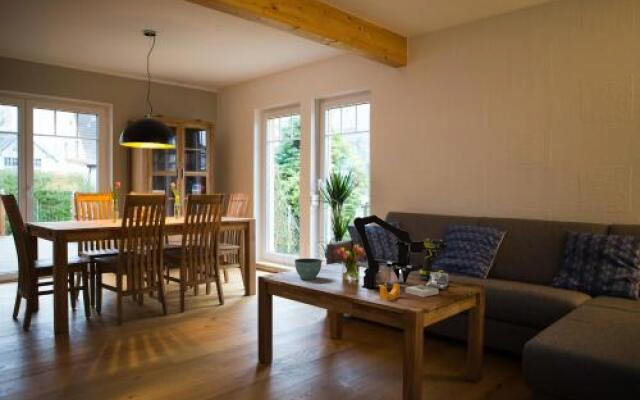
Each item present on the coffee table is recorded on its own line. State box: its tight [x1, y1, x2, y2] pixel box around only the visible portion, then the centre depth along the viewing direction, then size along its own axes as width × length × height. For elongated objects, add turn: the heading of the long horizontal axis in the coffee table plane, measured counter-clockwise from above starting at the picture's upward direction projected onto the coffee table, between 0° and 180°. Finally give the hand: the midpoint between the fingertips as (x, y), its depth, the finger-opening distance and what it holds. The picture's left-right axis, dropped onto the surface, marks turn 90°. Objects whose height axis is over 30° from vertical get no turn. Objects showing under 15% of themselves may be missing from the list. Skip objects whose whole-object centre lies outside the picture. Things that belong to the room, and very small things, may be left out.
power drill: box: [418, 237, 450, 282], centre depth 281 cm, size 9×17×25 cm, turn 68°
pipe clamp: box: [379, 284, 401, 302], centre depth 235 cm, size 12×4×6 cm, turn 130°
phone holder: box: [422, 272, 451, 291], centre depth 262 cm, size 18×10×12 cm
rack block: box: [405, 284, 439, 298], centre depth 248 cm, size 12×12×2 cm
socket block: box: [385, 280, 419, 292], centre depth 259 cm, size 12×12×2 cm
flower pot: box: [294, 258, 323, 281], centre depth 280 cm, size 16×16×11 cm
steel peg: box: [399, 268, 407, 285], centre depth 259 cm, size 4×4×10 cm
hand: (402, 281), depth 259 cm, fingers closed on steel peg, 4 cm apart
